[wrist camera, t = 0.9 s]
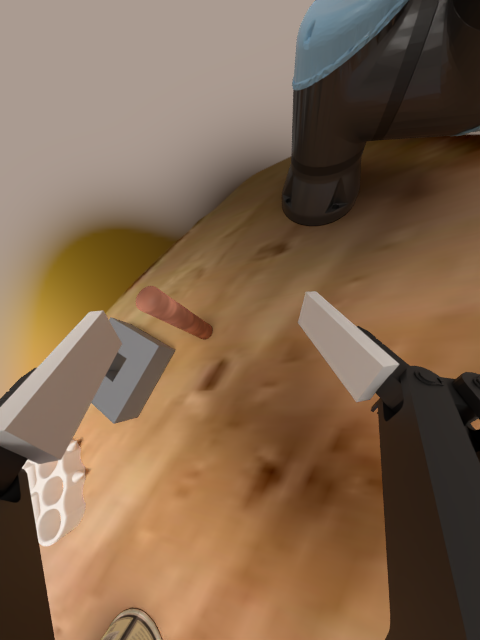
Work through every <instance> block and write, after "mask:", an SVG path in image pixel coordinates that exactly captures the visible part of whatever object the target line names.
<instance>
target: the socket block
mask: <svg viewBox="0 0 480 640" xmlns="http://www.w3.org/2000/svg"><path fill="white" fill-rule="evenodd" d="M109 321H110V323H111V325H112V327H113V328H114V330H115V332H116V334H117V335H118V337H119V339H120V341H121V343H122V345H121V347H120V349H119V350H118V352H117V354H116V356H115V358H114V360H113V362H112V364H111V366H110V368H109V370H108V371H107V373H106V375H105V377H104V379H103V381H102V383H101V385H100V387H99V389H98V391H97V392H96V394H95V396H94V398H93V400H92V402H91V403H92V404H93V405H94V406H95V407H96V408H97V409H98V410H100V411H101V412H102V413H103V414H104V415H105V416H106V417H107V418H108V419H109V420H110V421H111V422H113V423H114V424H115V423H118V422H122V421H126V420H129V419H133V418H136V417H138V416H139V414H140V412H141V411H142V409H143V407H144V405H145V403H146V402H147V400H148V398H149V396H150V394H151V393H152V391H153V389H154V387H155V385H156V384H157V382H158V380H159V378H160V377H161V375H162V373H163V371H164V369H165V368H166V366H167V364H168V362H169V360H170V359H171V357H172V355H173V353H174V352H175V349H173V348H171V347H169V346H168V345H166V344H164V343H162V342H161V341H159V340H157V339H155V338H154V337H152V336H150V335H149V334H147V333H145V332H143V331H142V330H140V329H138V328H136V327H135V326H133V325H131V324H129V323H126V322H123V321H120V320H117V319H114V318H110V319H109Z"/></svg>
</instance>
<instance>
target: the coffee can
mask: <svg viewBox="0 0 480 640" xmlns="http://www.w3.org/2000/svg"><path fill="white" fill-rule="evenodd" d="M101 640H162V639H161V636H160V633H159V631H158V629H157V627H156V625H155V623H154V622H153V621H152V620H151V618H150V617H149V616H148V615H147V614H146V613H145V612H143V611H141V610H139V609H133V608H132V609H128V610H125V611H123V612H122V613H120V614H119V615H118V616H117V617H116V618H115V619H114V620H113V622H112V623H111V625H110V626H109V628H108V630H107V631H106V633H105V634H104V636H103V637H102V639H101Z"/></svg>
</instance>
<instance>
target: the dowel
mask: <svg viewBox="0 0 480 640" xmlns="http://www.w3.org/2000/svg"><path fill="white" fill-rule="evenodd" d="M136 306H137V308H138V309H139V310H141V311H143V312H145V313H147V314H149V315H152V316H154V317H156V318H158V319H160V320H162V321H164V322H167V323H169V324H171V325H173V326H175V327H177V328H180V329H182V330H184V331H186V332H188V333H190V334H193V335H195V336H197V337H199V338H201V339H207V338H209V337H210V336H211V335H212V331H213V330H212V327H211V326H210V325H209V324H208V323H206V322H205V321H203V320H202V319H200V318H199V317H198V316H196V315H195V314H193V313H192V312H190V311H189V310H188V309H186V308H185V307H183V306H182V305H180V304H179V303H178V302H176V301H175V300H173V299H172V298H170V297H169V296H168V295H166V294H165V293H163V292H162V291H160V290H159V289H158V288H156V287H154V286H148V287H145V288H144V289H142V290H141V291H140V292H139V294H138V296H137V298H136Z"/></svg>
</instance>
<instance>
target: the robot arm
mask: <svg viewBox="0 0 480 640" xmlns="http://www.w3.org/2000/svg"><path fill="white" fill-rule="evenodd" d="M292 86H293V89H294V92H293V126H292V158H291V165H290V168H289V172H288V175H287V178H286V181H285V185H284V188H283V192H282V208H283V211H284V213H285V214H286V216H287V217H288V218H289V219H291V220H292V221H294V222H296V223H299V224H303V225H309V226H316V225H323V224H328V223H331V222H333V221H336V220H338V219H339V218H341V217H343V216H344V215H345V214H346V213H347V212H348V211H349V210H350V209H351V208H352V206H353V205H354V203H355V200H356V198H357V195H358V192H359V188H360V172H361V156H362V153H363V150H364V147H365V144H366V141H375V140H389V139H405V138H421V137H437V136H460V135H464V134H467V133H470V132H476V131H480V0H315V1H314V3H313V4H312V5H311V6H310V8H309V10H308V11H307V13H306V15H305V16H304V19H303V21H302V23H301V25H300V28H299V32H298V36H297V45H296V57H295V71H294V77H293V82H292ZM298 324H299V325H300V326H301V328H302V329H303V330H304V332H305V333H306V334H307V336H308V337H309V339H310V340H311V341H312V343H313V344H314V345H315V347H316V348H317V349H318V351H319V352H320V353H321V355H322V356H323V357H324V359H325V360H326V362H327V363H328V364H329V366H330V367H331V368H332V370H333V371H334V372H335V374H336V375H337V376H338V378H339V379H340V381H341V382H342V383H343V385H344V386H345V387H346V389H347V390H348V391H349V393H350V394H351V395H352V397H353V398H354V400H355V401H356V402H360V401H365V400H370V399H371V398H372V396H373V395H374V394H375V393H376V394H377V395H378V396H379V397H380V399H379V400H378V401H377V402H376V403H375V404H374V405H373V406H372V408H371V411H372V412H374V411H375V410H376V409H377V407H378V412H377V414H378V416H379V433H380V450H381V466H382V483H383V500H384V517H385V533H386V550H387V567H388V583H389V600H390V630H389V633H388V635H387V637H386V639H385V640H480V429H479V430H476V429H474V428H473V427H472V425H471V424H470V423H471V422H473V421H475V420H477V419H478V418H479V419H480V374H476V373H471V372H465V373H463V374H461V375H460V376H459V377H458V378H456V379H450V378H443V377H439V376H438V375H437V374H435V373H433V372H432V371H430V370H427V369H425V368H423V367H418V366H409V365H408V364H407V363H406V362H404V361H403V360H402V359H401V358H400V357H398V356H397V355H396V354H395V353H394V352H392V351H391V350H390V349H389V348H388V347H386V346H385V345H384V344H382V342H380V341H379V340H378V339H376V337H374V336H373V335H372V334H371V333H370V332H368V331H367V330H365V329H363V328H361V327H359V326H355V325H354V324H353V323H352V322H350V321H349V320H348V319H347V318H346V317H345V316H344V315H342V314H341V313H340V312H339V311H338V310H337V309H335V308H334V307H333V306H332V305H331V304H330V303H329V302H327V301H326V300H325V299H324V298H323V297H322V296H321V295H319V294H318V293H317V292H316V291H312V292H306V293H305V297H304V301H303V305H302V309H301V313H300V317H299V321H298ZM121 345H122V343H121V341H120V339H119V337H118V335H117V334H116V332H115V330H114V328H113V327H112V325H111V323H110V321H109V320H108V318H107V316H106V314H105V313H104V311H94V312H89V313H88V314H87V315H86V316H85V317H84V318H83V319H82V321H81V322H80V323H79V324H78V325H77V326H76V327H75V328H74V329H73V330H72V331H71V332H70V333H69V334H68V335H67V336H66V338H65V339H64V340H63V341H62V342H61V343H60V344H59V345H58V346H57V347H56V348H55V349H54V350H53V352H52V353H51V354H50V355H49V356H48V357H47V358H46V359H45V360H44V361H43V362H42V363H41V364H40V365H39V366H38V367H37V368H34V369H33V370H31V371H30V372H28V373H27V374H26V375H24V376H23V377H21V378H20V379H19V380H18V381H17V382H16V383H15V384H14V385H13V386H12V387H11V388H10V391H9V392H6V394H5V395H4V396H3V397H2V398H1V399H0V640H55V638H54V632H53V626H52V620H51V614H50V608H49V602H48V596H47V590H46V584H45V578H44V572H43V566H42V560H41V554H40V548H39V542H38V536H37V530H36V524H35V518H34V512H33V506H32V500H31V494H30V488H29V481H28V475H27V472H26V471H25V469H22V467H23V466H24V464H25V463H26V461H27V460H30V461H33V462H35V463H37V464H43V463H48V462H53V461H58V460H61V459H62V457H63V455H64V453H65V452H66V450H67V448H68V446H69V444H70V442H71V440H72V438H73V436H74V434H75V432H76V431H77V429H78V427H79V425H80V423H81V421H82V419H83V417H84V415H85V413H86V411H87V410H88V408H89V406H90V404H91V402H92V400H93V398H94V396H95V394H96V392H97V391H98V389H99V387H100V385H101V383H102V381H103V379H104V377H105V375H106V373H107V371H108V370H109V368H110V366H111V364H112V362H113V360H114V358H115V356H116V354H117V352H118V350H119V349H120V347H121Z"/></svg>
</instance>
